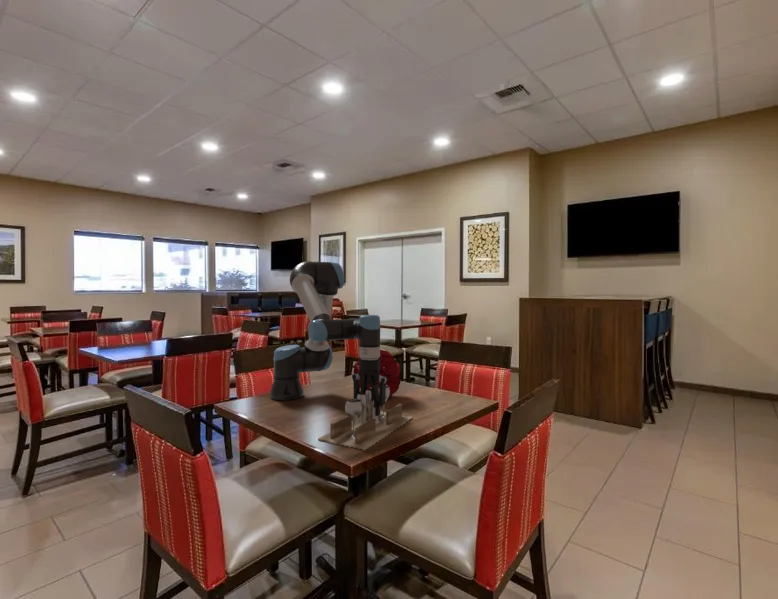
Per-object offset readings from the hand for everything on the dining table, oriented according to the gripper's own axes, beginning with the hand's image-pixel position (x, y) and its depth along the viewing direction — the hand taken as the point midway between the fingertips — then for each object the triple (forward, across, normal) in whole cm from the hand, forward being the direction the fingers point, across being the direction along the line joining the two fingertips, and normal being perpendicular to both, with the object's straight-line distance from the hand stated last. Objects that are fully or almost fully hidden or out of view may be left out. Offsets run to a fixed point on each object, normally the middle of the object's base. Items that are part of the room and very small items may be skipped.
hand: (369, 423), depth 145 cm
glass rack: (+2, 0, 0) cm, 2 cm away
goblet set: (+1, 0, 0) cm, 1 cm away
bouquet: (+2, -19, +41) cm, 46 cm away
